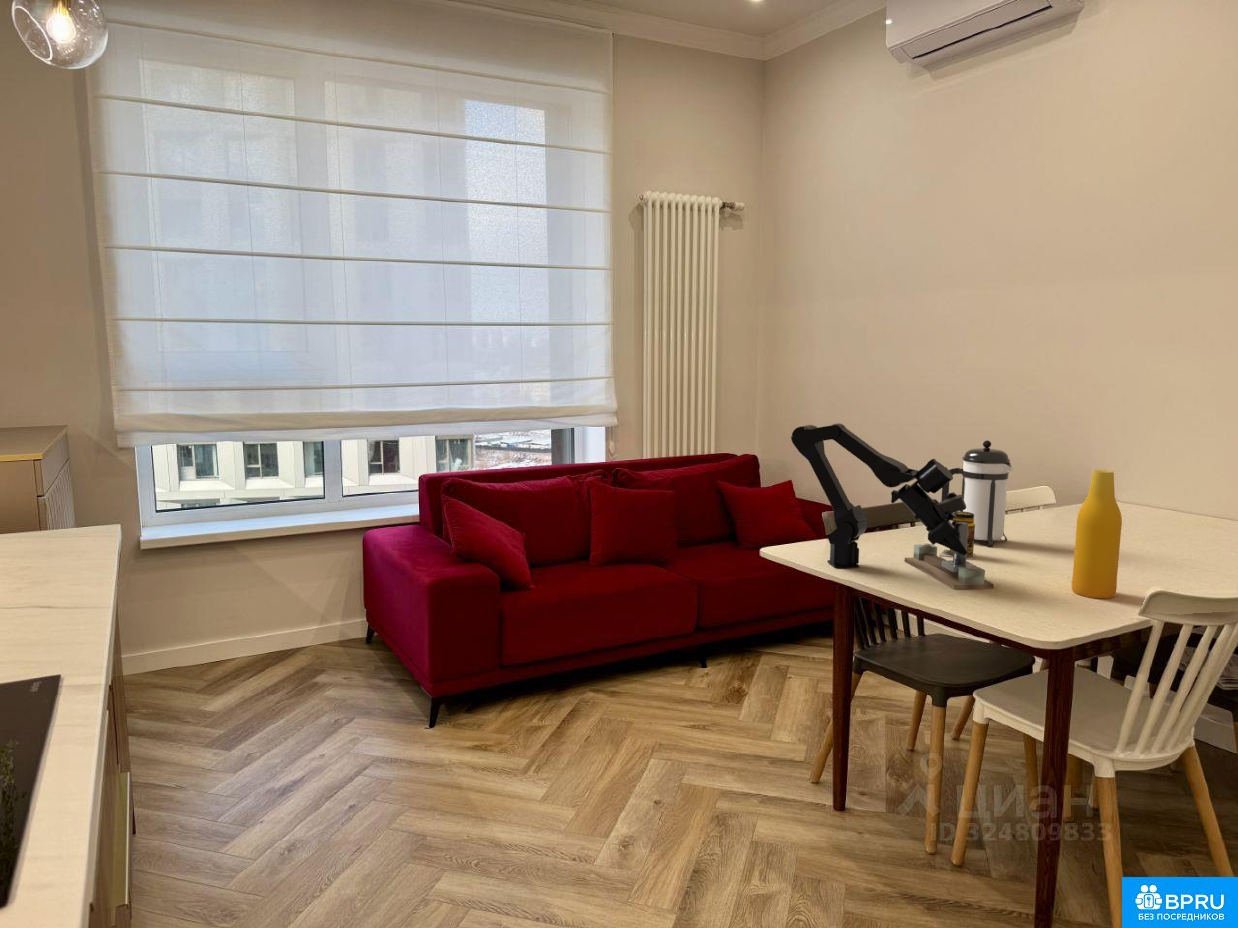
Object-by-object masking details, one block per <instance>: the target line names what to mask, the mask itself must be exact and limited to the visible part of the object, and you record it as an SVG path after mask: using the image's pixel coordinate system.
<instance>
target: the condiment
mask: <svg viewBox="0 0 1238 928" xmlns="http://www.w3.org/2000/svg"><path fill="white" fill-rule="evenodd" d="M954 514H955V515H956V517H955V518H954V519H953V521H952V522H954V521H955V520H956V521H957V522H964V523H968V538H967V549H968V550H967V554H966V560H973V559H974V557H975V556H976V555H977V553H976V552H974V545H975V539H974V531H975V524H974V514H973V513H970V512H962V511H957V512H954ZM953 551H954V550H952V549H943V550H942V552H941V553H940V557H942V556H943V557H952V558H953Z"/></svg>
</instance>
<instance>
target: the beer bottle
mask: <svg viewBox="0 0 1238 928" xmlns="http://www.w3.org/2000/svg"><path fill="white" fill-rule="evenodd" d="M1114 474H1115V473H1114V471H1112V470H1106V469H1093V470H1092V474H1091V480H1090V483H1089V484H1090V485H1089V489H1088V493H1087V497H1086V498H1085V500H1084V501H1083V503H1082V505H1081V506H1080V509H1079V510H1078V513H1077V516H1076V528H1075V529H1076V530H1075V541H1074V555H1073V567H1072V576H1071V577H1072V578H1071V590H1072V592H1073V593H1074V594H1076V595H1077V596H1082V597H1086V598H1090V599H1103V600H1104V599H1105V600H1106V599H1112V598H1114V597H1115V596H1116V593H1117V588H1118V587H1117V586H1118V583H1117V582H1118V573H1119V558H1120V548H1121V547H1120V546H1121V536H1122V535H1121V534H1122V524H1123V516H1122V512H1121V509H1120V507H1119V506H1118V502H1117V500H1116V493H1115V492H1116V491H1115V475H1114Z"/></svg>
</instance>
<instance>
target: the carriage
mask: <svg viewBox="0 0 1238 928" xmlns="http://www.w3.org/2000/svg"><path fill="white" fill-rule="evenodd" d="M955 525H956V531H955V534H956V535H957V537H958V538H959V540H960V541H961V543H962V544H963V546H964V547H965V549H966V550H967V538H968V523H964V522H956V523H955ZM945 560H946V561H942V567H944V568H946V569H948V570H950V571H952V572H959V567H967V566H975V567H978V566H977V565H976V564H974V563H972V562H969V561H968V560H967V559H966V554H965V555H963V554H960V553H958V552H956V551H953V557H952V560H951V559H949V560H947V559H945Z"/></svg>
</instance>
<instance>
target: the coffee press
mask: <svg viewBox="0 0 1238 928" xmlns="http://www.w3.org/2000/svg"><path fill="white" fill-rule="evenodd" d="M982 446H983V448H972V449H969V450H967V451H966V452H965V453H964V456H962V461H963V468H960V467H955V468H954V467H953V468H952V469H948V470H949V471H950V472H951V474H952V476H953V475H961V476H962V480H961V481H962V482H961V495H962V497H963V499H964V502H965V504H966V509H965V510H962V512H970V513H973V514H974V524H975V531H974V541H975V540H976V541H984V542H985V545H986V546H987V548H988V547H990V548H991V547H994V541H997V540H1000V541H1001V542H1002V543H1006V542H1007V541H1008V538H1007V536H1006V535H1005V519H1006V518H1005V517H1006V504H1007V503H1006V502H1007V490H1008V489H1007V487H1008V479H1009V471H1011V472H1012V471H1013V470H1014V468H1013V466H1012V463H1011V459H1010V457H1009V455H1008V453H1006V452H1005V451H1003V450H1001V449H996V448H995V449H994V448H990V447H992V442H991V441H990V440H985V441H983V443H982ZM949 493H950V482H949V483H947V484H946V485H945V486H944V487H942V488H941V499H940V500H941V501H940V502H942V501H944V500H947V496H948V494H949ZM950 521H952V522H953V518H952V519H951V520H950ZM1002 538H1004V540H1002Z"/></svg>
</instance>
